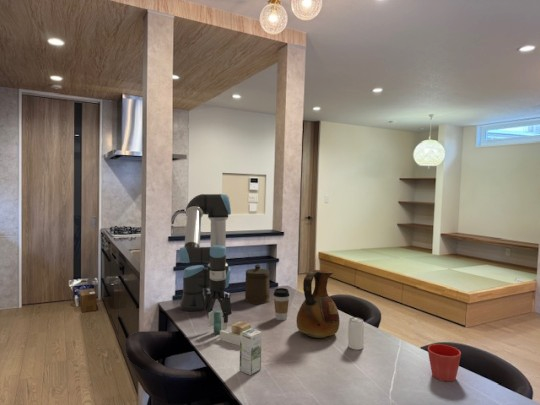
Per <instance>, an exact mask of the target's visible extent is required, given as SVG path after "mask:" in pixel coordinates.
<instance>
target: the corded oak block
mask: <svg viewBox="0 0 540 405" xmlns="http://www.w3.org/2000/svg"><path fill="white" fill-rule="evenodd" d="M213 311H214V325H213V335H219V336H220V331H221V330H222V316H223V313H222V310H213ZM251 325H252V324H251V323H248V322H245V321H240V320H239V321H238V322H235V323H233V324H232V325H231V333H234V334H237V335H240V333H241V332H243V331H246V330H248V329H250V328H252V327H251Z"/></svg>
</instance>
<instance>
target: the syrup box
mask: <svg viewBox="0 0 540 405" xmlns="http://www.w3.org/2000/svg"><path fill="white" fill-rule="evenodd" d="M251 328H252V327H251ZM251 328H250V329H248V330H246V331H243V332H241V333H240V346H239V372H242V373H243V374H247V375H249V376H252V375H254V374H256V373H258V372H259V371H260V370H261V369H262V334H263V333H262V332H261V331H260V330H259V329H256V330H255V328H252V329H251ZM258 330H259V331H258Z"/></svg>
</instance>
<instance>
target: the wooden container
mask: <svg viewBox="0 0 540 405" xmlns="http://www.w3.org/2000/svg"><path fill="white" fill-rule="evenodd" d="M261 267H262V266H261V265H260V264H256V265H255V266H254V268H248V269H246V270H245V282H244V284H245V286H244V288H245V290H244V292H245V294H244V296H245V298H244V301H245V302H246V303H249V304H253V305H254V304H255V305H256V304H257V305H259V304H260V305H261V304H266V303H269V302H270V294H271V293H270V291H271V290H270V270H269V269H267V268H261Z"/></svg>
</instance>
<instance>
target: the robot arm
mask: <svg viewBox="0 0 540 405" xmlns="http://www.w3.org/2000/svg"><path fill="white" fill-rule="evenodd" d="M229 197H230V196H229V195H227V194H222V193H220V194H219V193H216V194H215V193H213V194H212V193H211V194H210V193H206V194H205V193H202V194H198V195H196V196H194V197H193V198H191V199H190V201H189V202H188V203H187V206H186V208H185V216H186V224H185V235H184V246H182V247H180V248H179V252H178V257H179V258H178V260H179V262H180V263H182V264H196V263H207V267H205V266H204V265H201V264H199V265H191V266H187V267H186V268H184V270H183V273H182V297H181V300H180V303H179V308H180V310H182V311H186V312H197V311H199V312H200V311H202V310H204V311H206V313H207V319H208V327H212V326H214V311H215V310H214V309H213V308H214V305H215V303H216V300H217V301H218V302H219V304H220V308H221V309H220V310H221V312H222V317H221V330H223V331H226V330H227V329H228V322H229V316H231V315H232V312H233V311H232V304H231V295H232V294H231V292H226V289H227V288H228V287H229V284H230V279H231V270H232V269H231V267H230V266H229V264H228V263H227V248H226V247H227V245H226V244H227V243H226V242H227V240H226V239H227V238H226V234H227V233H226V232H227V231H226V230H227V229H226V226H227V225H226V224H227V223H226V222H227V220H228V218H229V216H230V215H232V213H231V211H232V210H231V204H230V203H231V202H230V198H229ZM204 215H206V216H207V218H208V219H209V221H210V246H201V245H200V244H201V225H202V217H203V216H204Z"/></svg>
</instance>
